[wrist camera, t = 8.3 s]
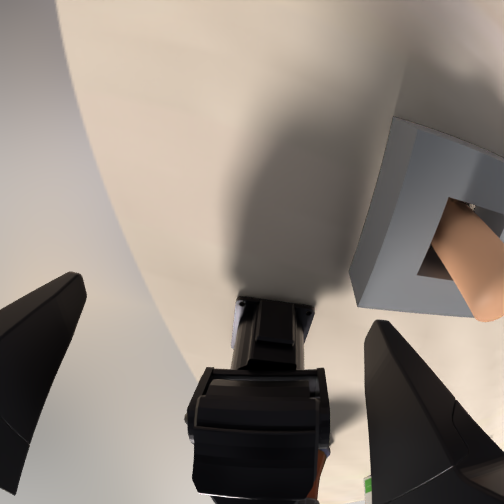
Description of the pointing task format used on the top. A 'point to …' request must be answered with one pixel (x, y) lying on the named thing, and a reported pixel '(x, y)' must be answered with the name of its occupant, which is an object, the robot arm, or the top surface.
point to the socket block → (421, 219)
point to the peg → (472, 259)
